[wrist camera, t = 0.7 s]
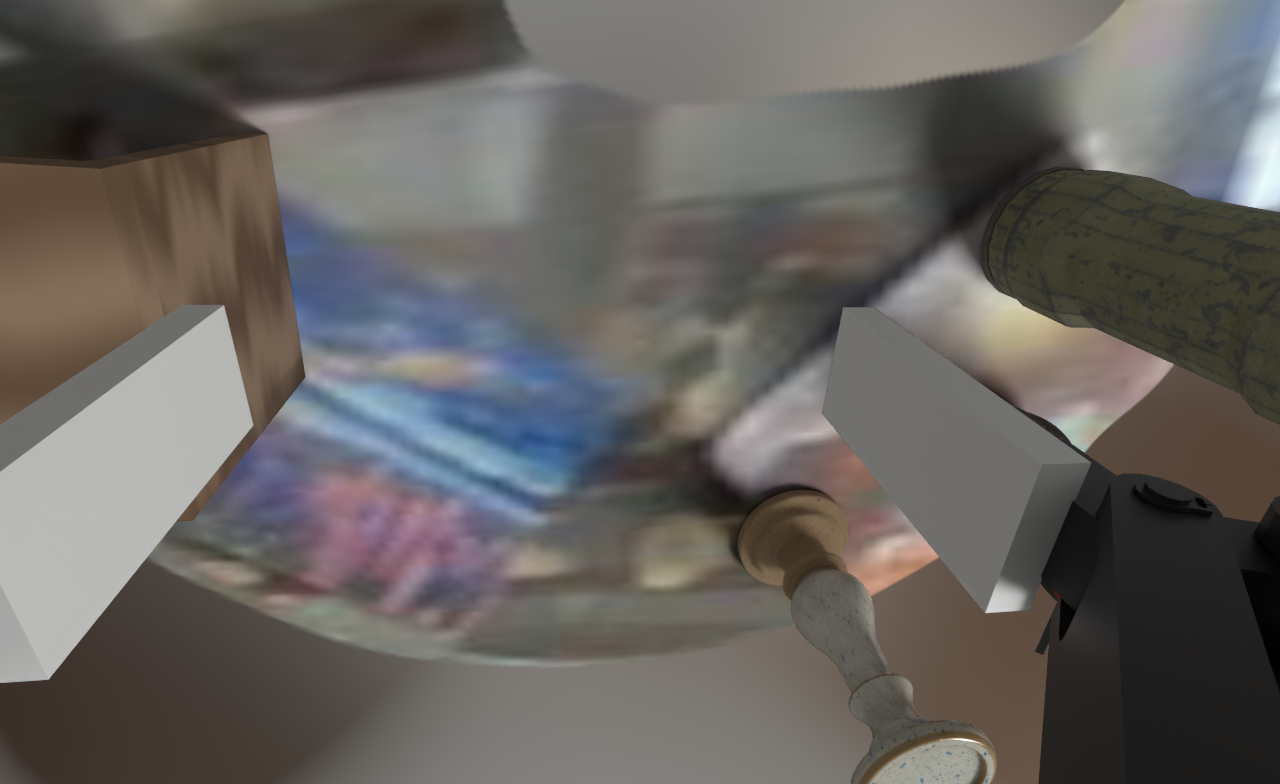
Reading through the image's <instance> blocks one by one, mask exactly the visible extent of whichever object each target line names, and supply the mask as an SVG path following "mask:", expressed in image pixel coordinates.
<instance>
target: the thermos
mask: <svg viewBox="0 0 1280 784" xmlns="http://www.w3.org/2000/svg"><path fill="white" fill-rule="evenodd" d="M982 265H983V268H984V271H985V274H986V276H987V279H988V281H989V282H990V283H991V284H992V285H993V286H994V287H995V288H996V289H997V290H998V291H999V292H1001V293H1003V294H1005V295H1008V296H1010V297H1012V298H1015V299H1017V300H1018V301H1019V302H1020V303H1021V304H1022V305H1023V306H1025V307H1027V308H1029V309H1031V310H1033V311H1035V312H1037V313H1040V314H1042V315H1044V316H1046V317H1048V318H1050V319H1052V320H1054V321H1057V322H1059V323H1061V324H1063V325H1065V326H1067V327H1071V328H1095V329H1098V330H1100V331H1102V332H1104V333H1106V334H1109V335H1111V336H1113V337H1115V338H1118V339H1120V340H1122V341H1124V342H1126V343H1129V344H1131V345H1133V346H1135V347H1137V348H1140V349H1142V350H1144V351H1146V352H1149V353H1151V354H1153V355H1155V356H1157V357H1160V358H1162V359H1164V360H1166V361H1168V362H1171V363H1173V364H1175V365H1177V366H1179V367H1182V368H1184V369H1186V370H1188V371H1191V372H1193V373H1195V374H1197V375H1199V376H1202V377H1204V378H1206V379H1208V380H1211V381H1213V382H1215V383H1217V384H1219V385H1222V386H1224V387H1226V388H1228V389H1230V390H1233V391H1235V392H1237V393H1239V394H1240V395H1241V396H1242V397H1243V399H1244V400H1245V401H1246V402H1247V403H1248V404H1249V406H1250V407H1251V408H1252V410H1253V411H1254V412H1255V413H1256V414H1258V415H1260V416H1262V417H1264V418H1266V419H1269V420H1271V421H1273V422H1275V423H1277V424H1279V425H1280V212H1274V211H1269V210H1263V209H1258V208H1252V207H1247V206H1241V205H1236V204H1230V203H1225V202H1220V201H1214V200H1209V199H1203V198H1198V197H1192V196H1191V195H1190V194H1188V193H1187V192H1186V191H1184V190H1182V189H1180V188H1177V187H1174V186H1171V185H1168V184H1166V183H1163V182H1160V181H1157V180H1155V179H1152V178H1148V177H1142V176H1136V175H1130V174H1123V173H1117V172H1111V171H1098V170H1087V171H1084V170H1082V169H1076V168H1061V167H1056V168H1052V169H1049V170H1045V171H1042V172H1038V173H1035V174H1034V175H1032V176H1031V177H1029V178H1027V179H1026V180H1024V181H1023V182H1021V183H1019V184H1018V185H1016V186H1015V187H1014V188H1013V189H1012V191H1011V192H1010V193H1009V194H1008V195H1007V196H1006V197H1005V198H1004V199H1003V200H1002V201H1001V202H1000V203H999V205H998V207H997V208H996V210H995V212H994V213H993V215H992V217H991V218H990V220H989V222H988V224H987V228H986V231H985V234H984V238H983V241H982Z"/></svg>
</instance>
